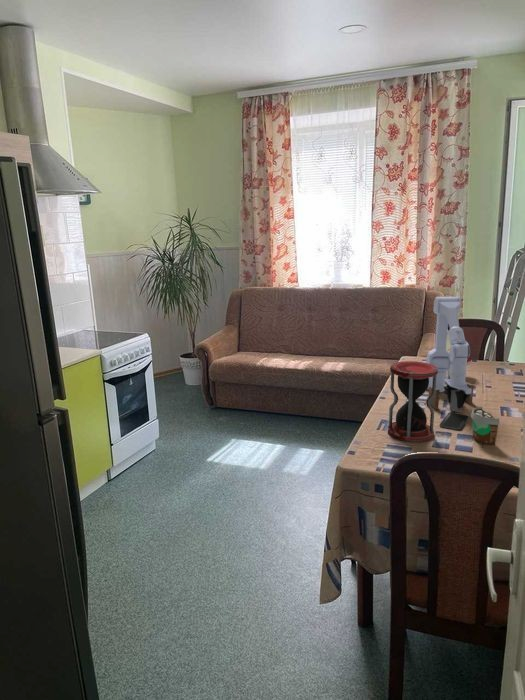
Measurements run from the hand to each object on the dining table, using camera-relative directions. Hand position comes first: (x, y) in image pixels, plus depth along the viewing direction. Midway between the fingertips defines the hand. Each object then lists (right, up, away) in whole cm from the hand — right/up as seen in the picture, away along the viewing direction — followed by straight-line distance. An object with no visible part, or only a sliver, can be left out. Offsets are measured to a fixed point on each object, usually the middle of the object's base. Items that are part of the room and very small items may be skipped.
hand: (455, 405), depth 206 cm
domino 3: (+8, +1, +10) cm, 13 cm away
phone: (-5, -6, -11) cm, 13 cm away
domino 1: (-7, -1, +5) cm, 9 cm away
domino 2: (0, -2, +1) cm, 2 cm away
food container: (-2, -9, -27) cm, 29 cm away
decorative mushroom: (+16, +9, +44) cm, 48 cm away
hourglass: (-24, -8, -20) cm, 32 cm away
